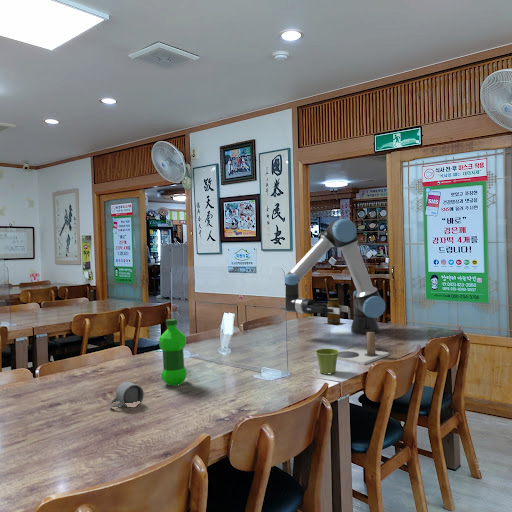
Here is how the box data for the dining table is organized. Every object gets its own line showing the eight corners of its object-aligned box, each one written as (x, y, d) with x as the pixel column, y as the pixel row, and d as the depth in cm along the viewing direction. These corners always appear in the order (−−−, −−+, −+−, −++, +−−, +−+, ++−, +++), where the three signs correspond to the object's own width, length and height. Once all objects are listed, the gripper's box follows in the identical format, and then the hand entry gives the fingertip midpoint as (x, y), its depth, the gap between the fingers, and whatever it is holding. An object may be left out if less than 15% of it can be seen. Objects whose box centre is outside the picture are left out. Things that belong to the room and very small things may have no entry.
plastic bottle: (158, 382, 185) (155, 319, 184) (185, 378, 189) (182, 316, 188) (163, 389, 176) (159, 323, 175) (191, 385, 180) (187, 320, 179)
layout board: (354, 348, 225) (353, 325, 224) (389, 354, 212) (388, 330, 211) (328, 357, 211) (327, 333, 211) (363, 364, 198) (363, 338, 197)
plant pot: (340, 369, 192) (340, 348, 192) (338, 376, 183) (337, 354, 183) (317, 368, 195) (317, 348, 194) (314, 375, 186) (313, 354, 185)
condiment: (333, 321, 232) (332, 297, 231) (346, 323, 225) (346, 298, 225) (323, 324, 227) (322, 299, 227) (336, 326, 221) (335, 300, 220)
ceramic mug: (134, 398, 168) (133, 377, 167) (145, 404, 161) (143, 382, 161) (105, 407, 161) (104, 385, 161) (115, 413, 155) (113, 390, 154)
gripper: (318, 310, 246) (355, 315, 229) (293, 316, 233) (331, 321, 216) (317, 296, 245) (355, 299, 229) (293, 301, 232) (330, 305, 216)
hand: (343, 310), depth 222 cm, fingers closed on condiment, 6 cm apart
